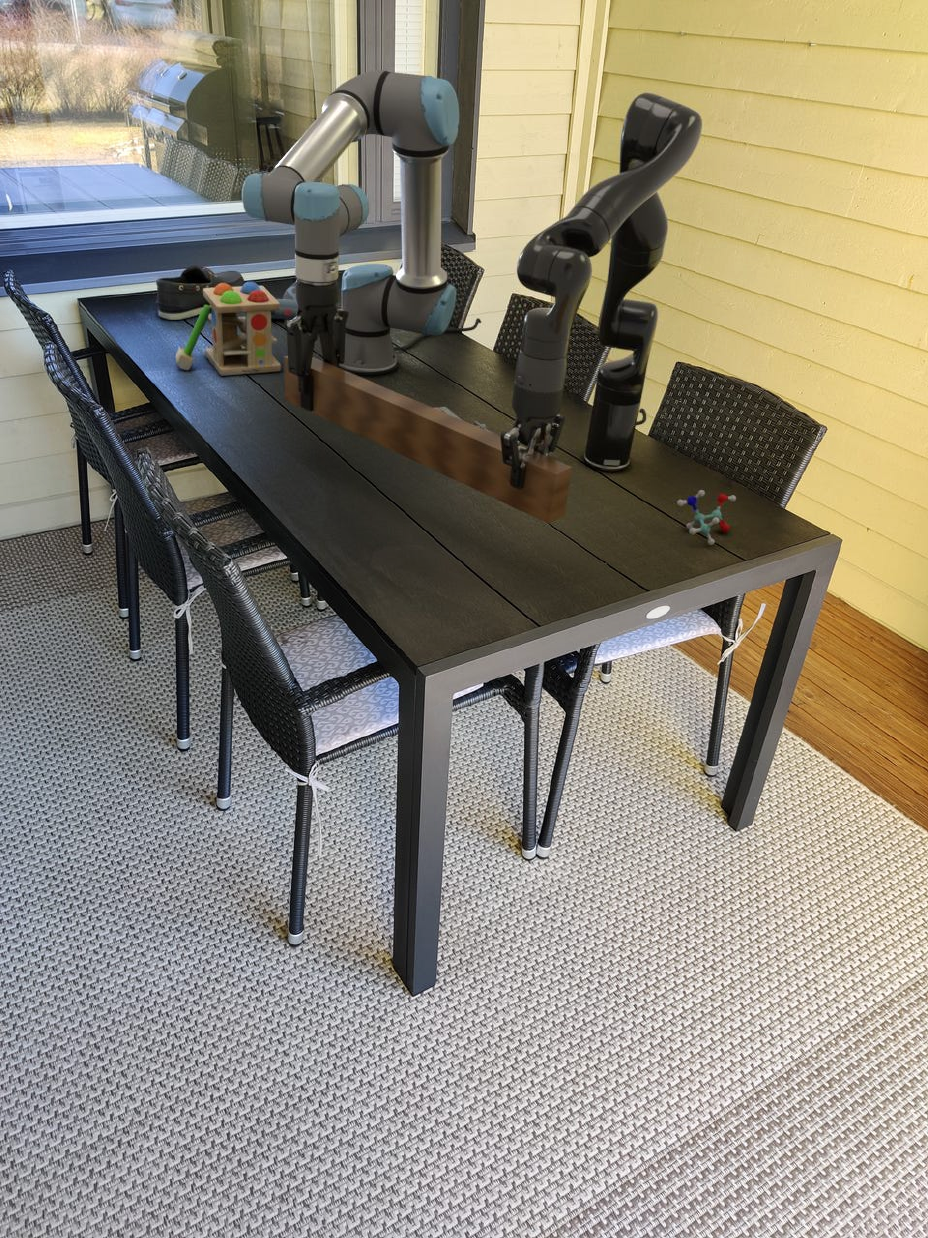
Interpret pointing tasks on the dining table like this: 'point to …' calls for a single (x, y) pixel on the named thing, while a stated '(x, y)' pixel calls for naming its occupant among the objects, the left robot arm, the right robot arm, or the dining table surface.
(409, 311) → the left robot arm
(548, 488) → the bar
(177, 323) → the dining table surface
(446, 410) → the clamp
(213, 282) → the boat shoe
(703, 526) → the molecular model
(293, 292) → the power drill
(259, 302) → the pounding bench toy
